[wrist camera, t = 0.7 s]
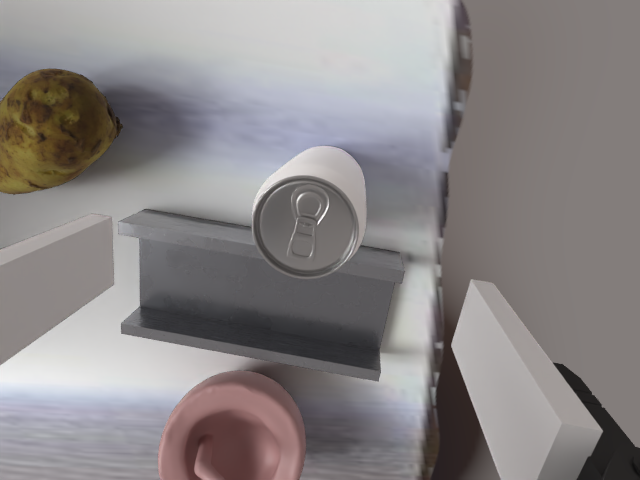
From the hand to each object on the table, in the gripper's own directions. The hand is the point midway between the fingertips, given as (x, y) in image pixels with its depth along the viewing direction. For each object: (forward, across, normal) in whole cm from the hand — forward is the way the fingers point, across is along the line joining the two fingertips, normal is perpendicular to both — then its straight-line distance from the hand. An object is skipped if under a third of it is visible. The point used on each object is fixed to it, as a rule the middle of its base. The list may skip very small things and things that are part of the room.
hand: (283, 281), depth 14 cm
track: (+18, -4, -10) cm, 21 cm away
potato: (+18, -21, +1) cm, 28 cm away
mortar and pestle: (+18, -4, -22) cm, 29 cm away
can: (+18, 0, 0) cm, 19 cm away
